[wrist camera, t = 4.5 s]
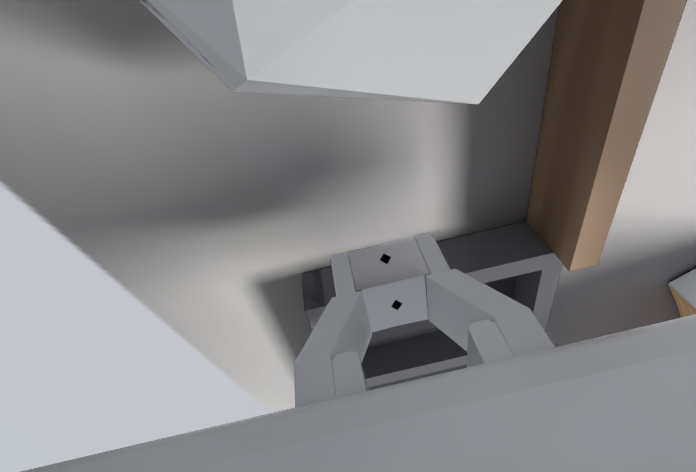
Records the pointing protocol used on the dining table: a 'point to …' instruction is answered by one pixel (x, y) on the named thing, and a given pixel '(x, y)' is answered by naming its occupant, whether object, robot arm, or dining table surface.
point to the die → (357, 44)
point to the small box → (685, 293)
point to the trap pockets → (423, 336)
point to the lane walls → (595, 117)
